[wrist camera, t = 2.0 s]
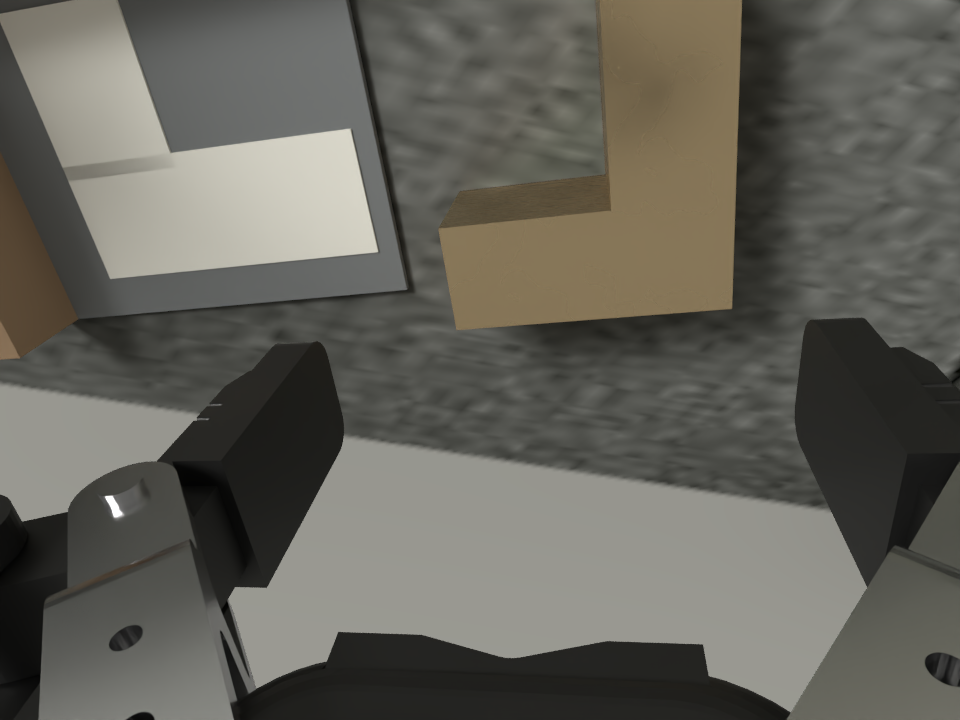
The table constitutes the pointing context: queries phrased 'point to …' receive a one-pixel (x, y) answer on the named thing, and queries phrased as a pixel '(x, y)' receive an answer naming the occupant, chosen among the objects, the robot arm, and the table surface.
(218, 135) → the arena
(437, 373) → the table surface
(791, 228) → the table surface
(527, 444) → the table surface
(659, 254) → the bracket
